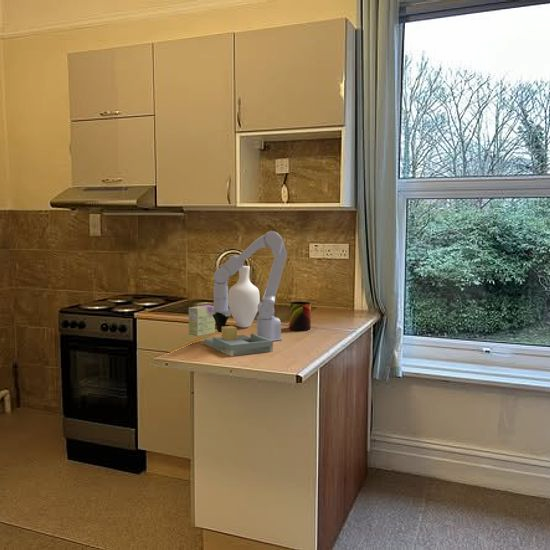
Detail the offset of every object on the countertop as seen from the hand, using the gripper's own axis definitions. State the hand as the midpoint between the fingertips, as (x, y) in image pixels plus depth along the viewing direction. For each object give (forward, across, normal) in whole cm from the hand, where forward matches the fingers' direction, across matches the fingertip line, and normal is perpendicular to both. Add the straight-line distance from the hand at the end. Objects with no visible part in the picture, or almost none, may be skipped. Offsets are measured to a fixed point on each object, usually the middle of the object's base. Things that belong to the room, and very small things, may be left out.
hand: (220, 331), depth 224 cm
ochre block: (+2, +8, 0) cm, 8 cm away
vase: (+4, -22, +22) cm, 31 cm away
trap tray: (+3, +15, 0) cm, 16 cm away
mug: (+4, -8, +42) cm, 43 cm away
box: (+4, -16, -1) cm, 17 cm away
